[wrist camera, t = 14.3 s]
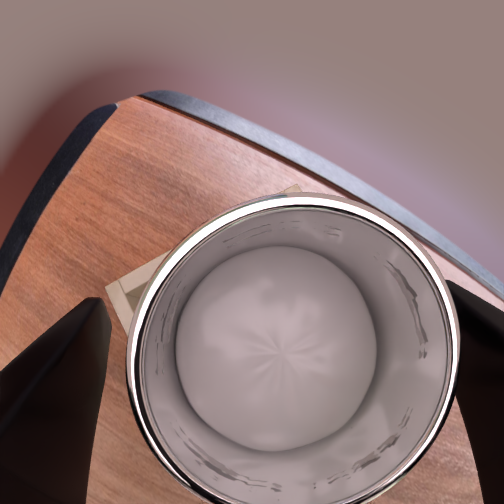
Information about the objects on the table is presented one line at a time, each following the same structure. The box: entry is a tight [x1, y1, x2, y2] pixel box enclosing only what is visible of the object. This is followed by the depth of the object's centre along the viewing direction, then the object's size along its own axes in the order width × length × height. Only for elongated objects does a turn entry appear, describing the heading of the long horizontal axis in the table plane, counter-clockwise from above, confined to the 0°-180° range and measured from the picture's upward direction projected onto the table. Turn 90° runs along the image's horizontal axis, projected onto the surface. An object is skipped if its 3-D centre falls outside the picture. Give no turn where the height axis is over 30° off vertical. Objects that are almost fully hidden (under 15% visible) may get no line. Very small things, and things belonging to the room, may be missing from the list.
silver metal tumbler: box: [126, 192, 461, 504], centre depth 12 cm, size 7×7×15 cm
